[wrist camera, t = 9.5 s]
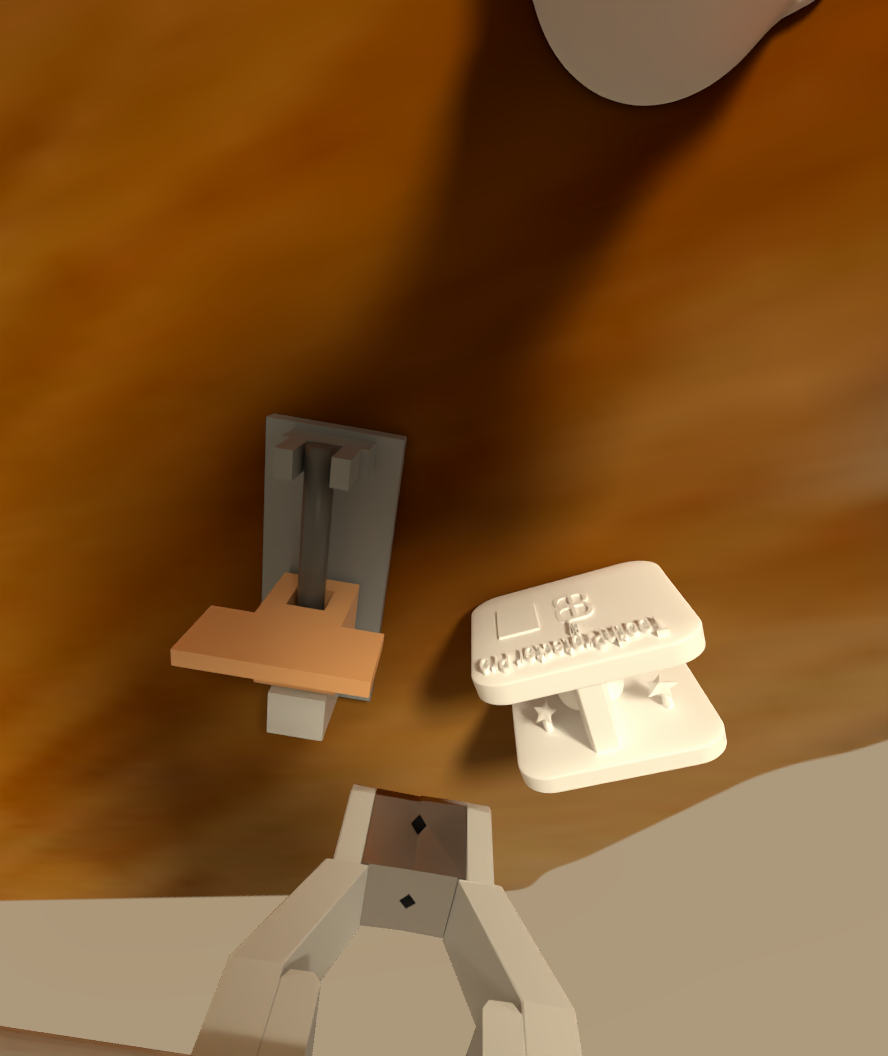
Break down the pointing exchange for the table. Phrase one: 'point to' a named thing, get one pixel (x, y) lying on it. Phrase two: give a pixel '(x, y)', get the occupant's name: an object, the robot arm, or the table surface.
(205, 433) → the table surface
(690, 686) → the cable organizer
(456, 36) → the table surface
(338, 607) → the orange piece
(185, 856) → the table surface
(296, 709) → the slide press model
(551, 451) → the table surface
